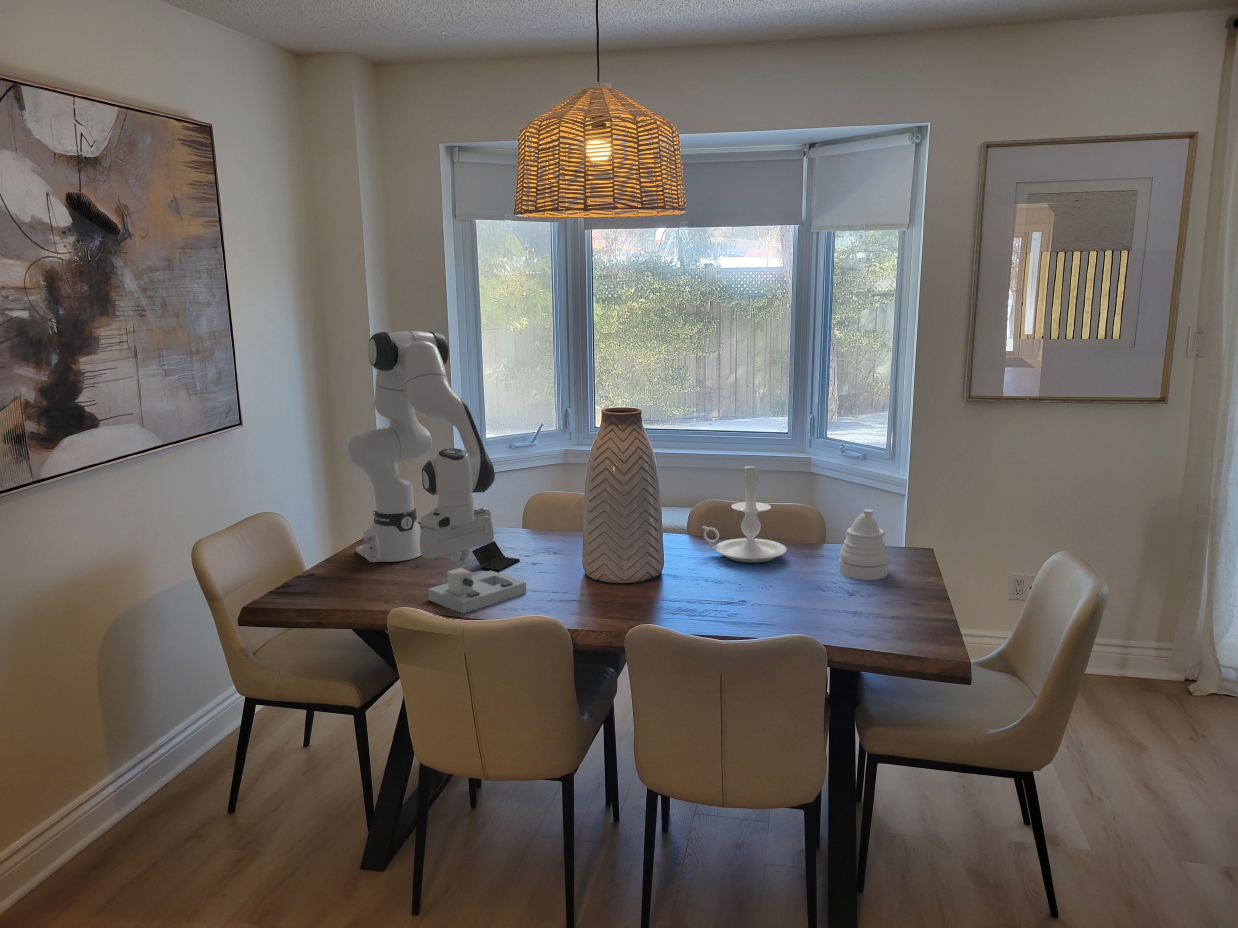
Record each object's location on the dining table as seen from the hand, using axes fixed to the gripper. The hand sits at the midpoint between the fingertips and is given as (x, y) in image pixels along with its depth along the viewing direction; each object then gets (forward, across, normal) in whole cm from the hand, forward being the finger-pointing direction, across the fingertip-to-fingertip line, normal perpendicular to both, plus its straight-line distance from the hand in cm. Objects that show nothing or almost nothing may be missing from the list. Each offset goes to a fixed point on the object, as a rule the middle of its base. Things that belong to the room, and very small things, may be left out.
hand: (459, 567), depth 217 cm
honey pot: (+10, -88, +64) cm, 109 cm away
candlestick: (+10, -77, +32) cm, 84 cm away
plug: (+9, 0, 0) cm, 9 cm away
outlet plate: (+9, -5, 0) cm, 11 cm away
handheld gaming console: (+10, -25, -18) cm, 32 cm away
